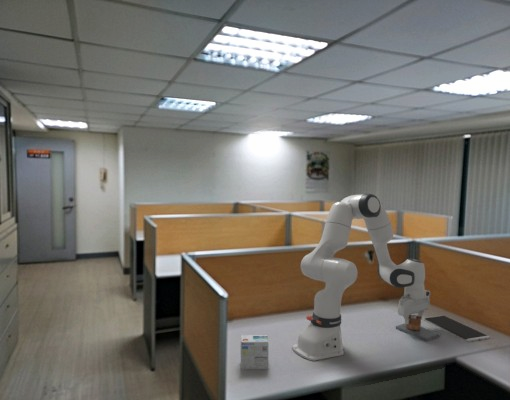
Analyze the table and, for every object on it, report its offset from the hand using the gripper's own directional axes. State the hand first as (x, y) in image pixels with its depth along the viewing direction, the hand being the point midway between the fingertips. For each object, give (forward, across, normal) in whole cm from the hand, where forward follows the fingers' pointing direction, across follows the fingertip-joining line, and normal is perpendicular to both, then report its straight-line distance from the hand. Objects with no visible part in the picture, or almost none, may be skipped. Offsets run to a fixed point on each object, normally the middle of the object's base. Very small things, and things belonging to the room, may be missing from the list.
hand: (413, 321), depth 169 cm
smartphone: (+5, +20, -9) cm, 23 cm away
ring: (+3, 0, 0) cm, 3 cm away
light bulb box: (+5, -82, +13) cm, 83 cm away
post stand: (+5, 0, -2) cm, 5 cm away
